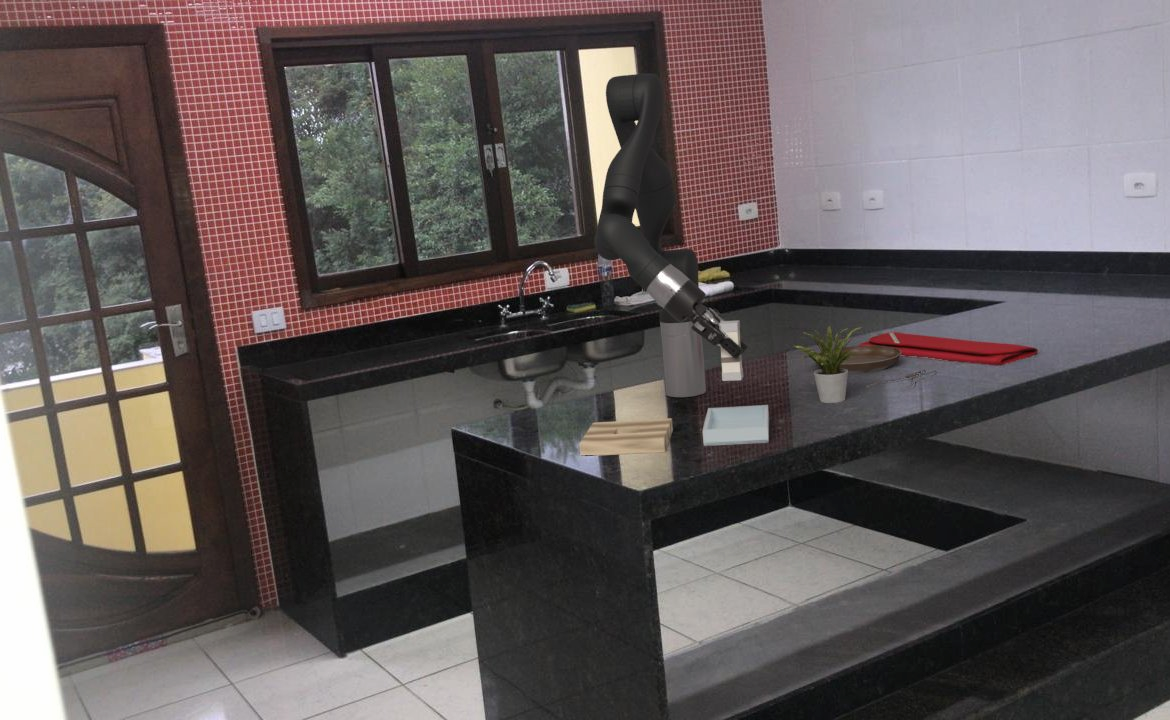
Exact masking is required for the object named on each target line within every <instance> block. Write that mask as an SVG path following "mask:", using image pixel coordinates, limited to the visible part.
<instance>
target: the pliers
mask: <svg viewBox="0 0 1170 720" xmlns="http://www.w3.org/2000/svg"><path fill="white" fill-rule="evenodd" d="M921 371H922V372H923V371H925V372H926V369H922V370H920V371H917V372H913V373H910V374H908V375H906V376H905V375H904V377H899V378H893V379H887V380H886V379H885V380H881V381H877V382H873V383H870V384H868V385H866V387H865V389H869V387H870V388H872V387H874V386H877V385H876V384H878V385H880V384H879V383H882V384H884V383H883V382H888V381H895V380H901V379H904V378H910V377H913V378H914V379H915V378H918V376H919V374H917V373H921ZM933 372H936V373H937V370H933V371H930V372H926V373H927V374H931V373H933ZM914 374H915V375H914ZM923 374H924V375H925V373H923ZM927 374H926V375H927ZM916 375H918V376H916ZM920 377H921V375H920ZM911 381H912V380H911ZM912 382H913V381H912ZM913 384H914V382H913ZM913 384H912V383H911V385H909V386H907V387H904V388H901V389H900V390H903V389H907V388H909V387H911V386H912V385H913ZM873 385H874V386H873ZM871 386H872V387H871Z"/></svg>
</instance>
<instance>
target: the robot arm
mask: <svg viewBox="0 0 1170 720" xmlns="http://www.w3.org/2000/svg"><path fill="white" fill-rule="evenodd" d="M605 86H606V88H605V98H606V105H607V110H608V114H609V116H610V120H611V123H612V126H613V129H614V132H615V135H616V138H617V140H618V143H619V147H620V149H619V150H618V152H617V153H616V154H615V156H614V157H613V158H612V160H611V161H610V164H609V165H608V168H607V171H606V175H605V181H604V185H603V191H602V201H601V203H602V204H601V211H600V214H599V218H598V222H597V226H596V232H595V235H594V241H593V243H594V249H595V251H596V253H597V254H598V255H599V256H600V257H601V258H602V259H604V260H607V261H616V260H621V261H622V262H623V264H625V266H626V268H627V273H628V275H629V276H630V277H631V279H633V281H635V282H636V283H637V285H639V286H640V287H641V288H643V290H644V291H646V292H647V293H648V294H649V296H650V297H651V298H652V299H653V301H655V303H657V304H658V305H659V306H660V307H662V308H661V309H660V310H659V315H658V316H659V325H660V326H659V327H660V336H661V347H662V349H661V350H662V358H663V359H662V360H663V361H662V362H663V370H664V372H663V373H664V383H665V395H666V396H668V397H671V398H689V397H697V396H700V395H704V394H705V393H707V387H706V386H707V385H706V373H705V361H704V350H703V349H704V347H703V338H704V340H706V341H707V342H709V343H710V344H711V345H713V346H714V347H716V346H718V347H720V346H721V345H722V346H721V347H723V348H724V349H725V350H726V351H727V352H728V353H729V354H730V355H731V356H733V357H734V358H738V357H739V356H740V355H741V354H742V355H743V353H744V352H745V351H746V350H747V349H748V347H749V346H748V345H747V344H746V343H745V342H744V341H743V340H742V339H741V338H740V344H741V347H740V346H739V345H737V344H736V343H735V342H734V341H733V340H732V339H731V338H730V337H729V336H728V335H727V334H726V333H725V332H724V331H722V330H721V325H720V322H723V321H728V320H727V319H726V318H725V317H724V316H723V315H722V314H721V313H720V312H719V310H718V309H716V308H713V309H712V308H711V307H707V306H705V305H704V304H703V301H704V300H705V298H706V296H707V295H706V292H705V291H703V289H701V288H700V287H699V285H700V284H699V263H698V258H697V255H696V252H695V251H694V250H693V249H691V248H682V249H667V250H664V249H663V247H662V242H661V239H662V236H663V231H664V229H665V227H666V224H667V223H668V220H669V218H670V216H671V215H672V212H673V210H674V208H675V204H676V199H677V198H676V197H677V196H676V189H675V186H674V181H673V176H672V172H671V170H670V168H669V166H668V165H667V163H666V162H665V161H664V159H663V158H662V157H660V155H659V154H658V152H656V151H655V150H654V149H653V147H652V144H653V141H654V138H655V134H656V131H657V128H658V125H659V122H660V120H661V116H662V113H663V112H662V111H663V108H664V104H665V103H664V101H665V93H664V87H663V83H662V80H661V79H660V77H659V76H658V75H657V74H655V73H637V74H626V75H618V76H613V77H610V79H609V80H608V81H607V83H606V85H605ZM636 122H637V123H636ZM635 212H636V215H637V219H638V223H639V228H640V229H639V228H638V227H637V225H635V224H634V223H633V218H634V213H635ZM728 337H729V338H728ZM721 347H720V348H721Z"/></svg>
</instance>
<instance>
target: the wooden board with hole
mask: <svg viewBox="0 0 1170 720" xmlns="http://www.w3.org/2000/svg"><path fill="white" fill-rule="evenodd" d="M673 431H674V428H673V418H671V417H670V418H657V419H654V418H652V419H637V420H635V419H634V420H617V421H602V422H601V421H599V422H592V424H591V425H590V427H589V429H588V430H587V431H586V432H585V434H584V436H583V437H582V439H581V440H580V442H579V443H578V444H579V454H580V456H581V455H597V456H611V455H612V456H613V455H614V456H615V455H636V454H637V455H638V454H654V453H655V454H657V453H658V454H659V453H666V450H667V448H668V444H669V442H670V440H671V436H672V433H673Z"/></svg>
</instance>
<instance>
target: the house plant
mask: <svg viewBox="0 0 1170 720" xmlns="http://www.w3.org/2000/svg"><path fill="white" fill-rule="evenodd" d="M862 328H863V326H861V327H856V328H854V329H852V330H850V331H849V332H848V333H847V334H846V335H845V337H844V338H843V339H841V340H839V338H840V336H841V334H842V333H843V332H844V331H846V330H849V328H848V327H847V328H845V329H843V330H841V331H840V333H839V332H837V333H835V336H834V341H833V337H832V336H833V333H832V332H833V331H832V329H831V326H830V325H827V332H826V340H825V338H824V337H823V336H822V335H821V334H820V333H819V331H817V330H815V329H814V328H812V330H813V331H814V332H815V333H816V334H817V335H818V336H819V337H820V339H819V338H818V337H817V336H816V335H814V334H812V333H808V332H804V331H803V332H802V331H801V333H802V334H806V335H808V336H809V337H810V338H811V339H812V340H814V342H815V343H816V345H817V346H818V348H819V350H818V353H822V354H823V355H822V354H821V355H822V356H824V357H821V356H820V355H819V354H818V353H817V352H816V351H814V349H813V350H812V349H810V348H808V347H805V346H801V345H793V347H794V348H797V349H799V350H800V351H801V352H803V353H806V354H807V355H805V356H802V357H800V358H799V359H798V361H800V360H802V359H805V358H806V359H807V358H811V359H812V360H813V361H814V362H815V363H816V365H817V366H819V367H820V368H821V369H817V370H814V372H813V377H814V379H815V384H816V389H817V394H818V397H819V402H821V403H825V404H833V403H834V404H837V403H842V402H845V400H846V393H847V385H848V384H847V383H848V376H849V375H848V374H849V373H848V370H847V369H842V368H840V366H841V364H842V363H843V362H844V361H846V360H848V359H850V358H854V357H852V356H850V357H848V356H846V355H848V354H850V353H855V352H845V353H843V354H842V352H843V350H844V348H845V347H847V345H848V344H849V343H850V342H851V340H852V339H853V338H854V337H855V335H853V334H854V333H855V331H857V330H860V329H862ZM852 335H853V336H852ZM808 336H806V337H807V338H808ZM851 336H852V337H851ZM850 337H851V338H850ZM801 338H802V339H804V337H802V336H801ZM807 338H805V340H807V342H810V343H811V341H810V340H809V339H807ZM848 339H849V340H848ZM838 340H839V341H838ZM847 341H848V342H847ZM846 342H847V343H846ZM833 343H834V344H833ZM833 347H834V348H833ZM843 347H844V348H843ZM815 348H816V349H818V348H817V347H816V346H815ZM839 348H840V349H839ZM833 349H834V352H833ZM842 349H843V350H842ZM838 350H839V351H838ZM841 354H842V355H841ZM855 354H856V353H855ZM856 355H857V354H856ZM825 360H826V361H825Z"/></svg>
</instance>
